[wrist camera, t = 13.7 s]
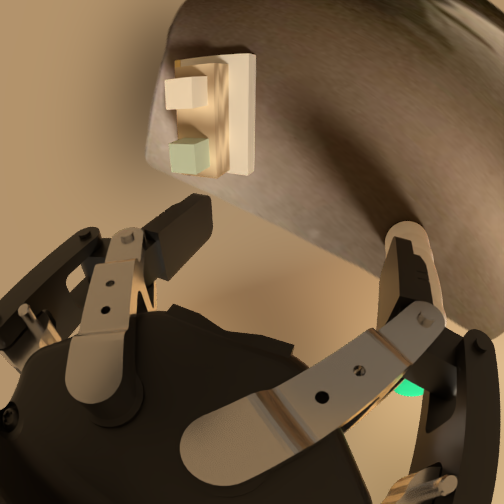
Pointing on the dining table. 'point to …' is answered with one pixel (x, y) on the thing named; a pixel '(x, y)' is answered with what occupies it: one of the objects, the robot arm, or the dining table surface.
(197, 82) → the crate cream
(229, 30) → the dining table surface
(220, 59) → the dock
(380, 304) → the robot arm
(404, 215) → the dining table surface
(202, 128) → the pallet
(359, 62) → the dining table surface
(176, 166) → the block
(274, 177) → the dining table surface
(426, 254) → the water bottle
